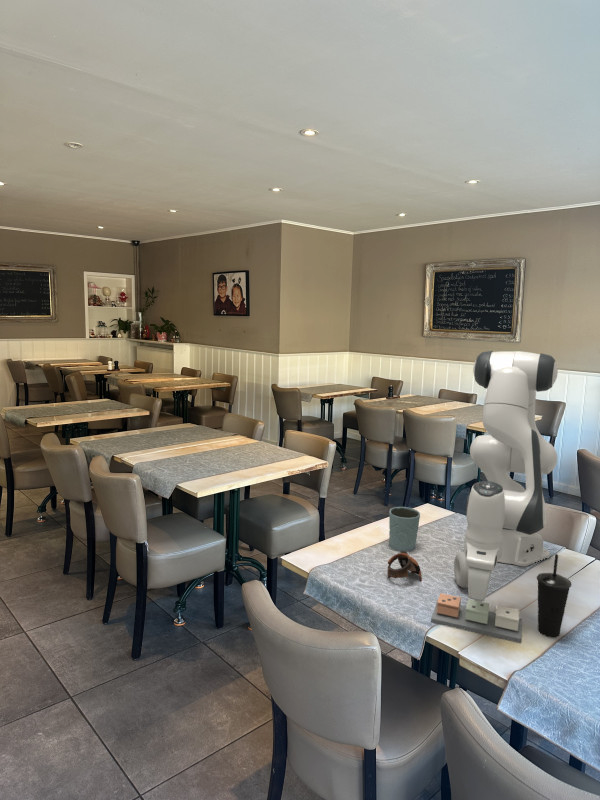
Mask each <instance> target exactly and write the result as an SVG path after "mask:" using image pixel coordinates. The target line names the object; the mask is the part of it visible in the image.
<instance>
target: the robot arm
mask: <svg viewBox="0 0 600 800" xmlns="http://www.w3.org/2000/svg"><path fill="white" fill-rule="evenodd" d="M472 368H473V369H472V371H473V373H472V374H473V377H474V381H475V382H476V384H477V385H479V386H481V387H483V388H484V389H486V392H485V398H484V402H483V410H482V425H483V428H484V430H485V431H486V432H487V434H482V435H478V436H476V437H475V438H474V439H473V441H472V442H471V444H470V447H469V455H470V458H471V460H472V462H473V464H475V465H476V466H477V467H478V469H480V471H482V473H483V475H484V476H485V478H486V480H483V481H478V482H475V483H474V484H473V485H472V487H471V489H470V493H469V494H468V495H467V498H466V502H465V503H466V504H465V505H466V506H465V515H466V523H467V527H466V530H465V535H464V545H463V551H464V553H465V556H466V566H468V587H467V593H468V599H470V600H474V601H475V602H477V603H482V602H485V600H486V597H487V592H488V589H489V583H490V579H491V575H492V572H493V571H494V570H495V568H496V566H497V563H498V562H499V563H503V564H508V565H509V564H511V565H515V566H518V567H528V566H530V565H533V564H535V562H536V563H539V562H541V561H543V559H544V560H546V559H545V558H547V559H549V558H548V557H550V556H552V555H551V552H550V551H548V549H545V548H544V540H543V537H542V535H540V534H539V533H538V532H540V531H541V530H543V529H544V527H545V525H546V523H547V507H546V502H545V498H544V488H543V487H544V486H543V475H549V474H550V473H551V472H552V471H553V470H554V469H555V467H556V466H557V463H558V454H557V450H556V448H555V447H554V446H553V444H551V442H549V441H547V440H546V439H545V438H544V437H543V436H542V434H541V433H540V431H539V429H538V427H537V425H536V401H537V400H536V399H537V392H546V391H548V390H550V389H551V388H553V387H554V386H553V385H554V384H555V383H556V380H557V378H558V366H557V363H556V359H555V358H554V357H553V355H549V354H546V353H540V354H539V353H535V352H529V351H523V350H522V351H521V350H519V351H518V350H516V351H512V350H511V351H508V350H507V351H506V350H505V351H504V350H503V351H493V350H488V351H482V352H481V353H479V354H478V355H477V356H476V359H475V361H474V363H473V367H472ZM510 472H512V473H518V474H524V476H525V488H524V486H522V485H521V484H520V483H518V482H517V481H515V480H514V479H512V478H511V476H510V474H509V473H510ZM550 558H551V557H550ZM540 560H541V561H540ZM538 561H539V562H538Z"/></svg>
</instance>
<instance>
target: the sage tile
mask: <svg viewBox="0 0 600 800" xmlns="http://www.w3.org/2000/svg"><path fill="white" fill-rule="evenodd" d="M489 611H490V603H488V602H485V601H482V603H477V602H475V601H474V600H473V599H470V598H468V599H467V604H466V615H465V619H467V620H471V621H476V622H480V623H485V624H487V621H488V615H489Z"/></svg>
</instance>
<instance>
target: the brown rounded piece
mask: <svg viewBox="0 0 600 800" xmlns="http://www.w3.org/2000/svg"><path fill="white" fill-rule="evenodd" d="M399 552H400V553H396V554H394V555H393V556H391V557H390V558H389V560H388V561H387V564H388V566H387V573H386V574H387V576H388V578H393V579H401V578H406V579H409V573H408V572H410V574H415V575H418V577H419V582H422V581H423V577H422V571H421V567H420V565H419V563H418V562H417V560H416V559H414V557H411V556H410V554H408V553H407V552H408V551H407V552H406V551H399ZM395 561H398V563H399V564H400V568H396V569H395V568H393V567H391V566H392V565H393V563H394V562H395Z"/></svg>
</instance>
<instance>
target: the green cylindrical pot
mask: <svg viewBox="0 0 600 800" xmlns="http://www.w3.org/2000/svg"><path fill="white" fill-rule="evenodd" d="M388 513H389V515H388V516H389V518H388V519H389V521H388V523H389V525H388V529H389V530H388V531H389V533H388V535H389V538H388V539H389V544H388V546H389V547H390V548H391V549H393V550H394V551H398V552H402V551H406V552H412V551H414V550H415V549H416V544H417V539H418V538H417V537H418V531H419V524H420V519H421V512H419V510H417V509H415V508H412V507H406V506H395V507H392V508H390V509H389V512H388Z"/></svg>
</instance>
